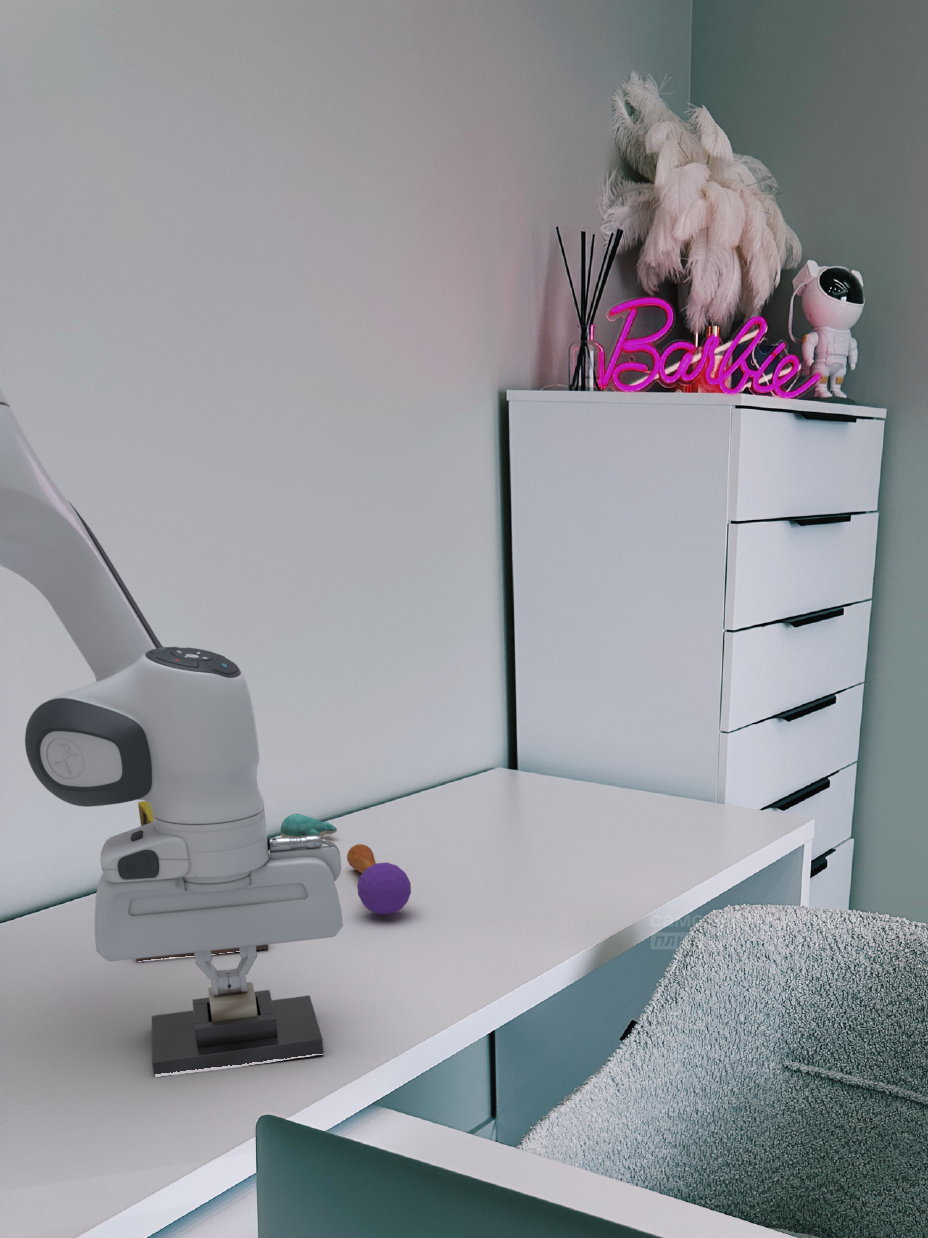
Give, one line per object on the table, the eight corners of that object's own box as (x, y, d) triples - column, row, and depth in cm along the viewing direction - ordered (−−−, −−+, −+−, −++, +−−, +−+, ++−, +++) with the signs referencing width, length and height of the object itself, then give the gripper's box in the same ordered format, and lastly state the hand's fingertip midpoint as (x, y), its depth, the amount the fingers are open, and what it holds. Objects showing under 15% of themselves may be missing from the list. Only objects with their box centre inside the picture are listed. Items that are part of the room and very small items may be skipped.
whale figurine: (274, 838, 171) (272, 811, 170) (325, 830, 176) (324, 804, 174) (291, 849, 167) (289, 821, 166) (343, 841, 172) (342, 814, 170)
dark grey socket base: (154, 1080, 107) (149, 1043, 105) (153, 1032, 115) (148, 997, 114) (324, 1055, 112) (320, 1020, 110) (311, 1011, 120) (308, 977, 119)
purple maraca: (386, 836, 160) (418, 872, 143) (380, 881, 162) (411, 922, 144) (339, 831, 158) (366, 866, 140) (333, 877, 159) (358, 917, 141)
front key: (212, 1024, 110) (209, 1003, 109) (210, 1007, 113) (207, 987, 112) (257, 1018, 111) (255, 997, 111) (254, 1002, 115) (252, 981, 114)
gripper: (334, 823, 113) (344, 964, 118) (84, 842, 106) (107, 992, 111) (343, 843, 108) (354, 990, 113) (81, 865, 100) (105, 1021, 105)
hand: (229, 991), depth 111 cm, fingers closed
